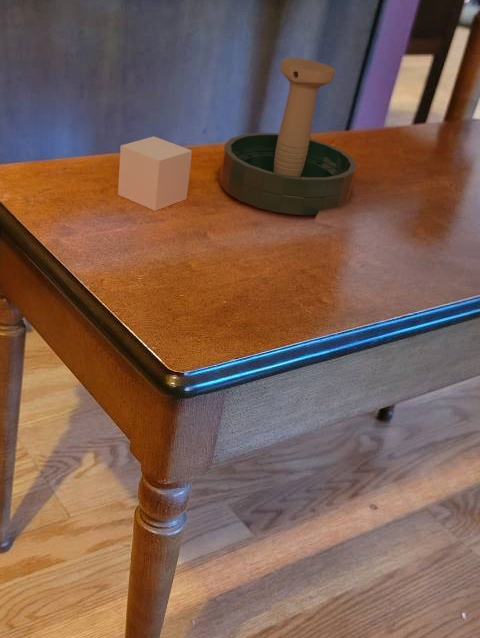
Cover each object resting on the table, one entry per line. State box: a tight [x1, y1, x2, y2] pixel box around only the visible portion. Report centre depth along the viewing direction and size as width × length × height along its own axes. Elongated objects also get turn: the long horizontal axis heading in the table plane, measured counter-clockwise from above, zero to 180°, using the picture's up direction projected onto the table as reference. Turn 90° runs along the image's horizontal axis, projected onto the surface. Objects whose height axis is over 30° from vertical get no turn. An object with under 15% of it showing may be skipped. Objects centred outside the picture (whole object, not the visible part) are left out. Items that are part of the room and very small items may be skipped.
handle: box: [274, 57, 336, 177], centre depth 91 cm, size 5×6×15 cm
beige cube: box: [117, 136, 193, 212], centre depth 89 cm, size 6×6×6 cm
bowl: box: [219, 132, 358, 216], centre depth 95 cm, size 17×17×5 cm
